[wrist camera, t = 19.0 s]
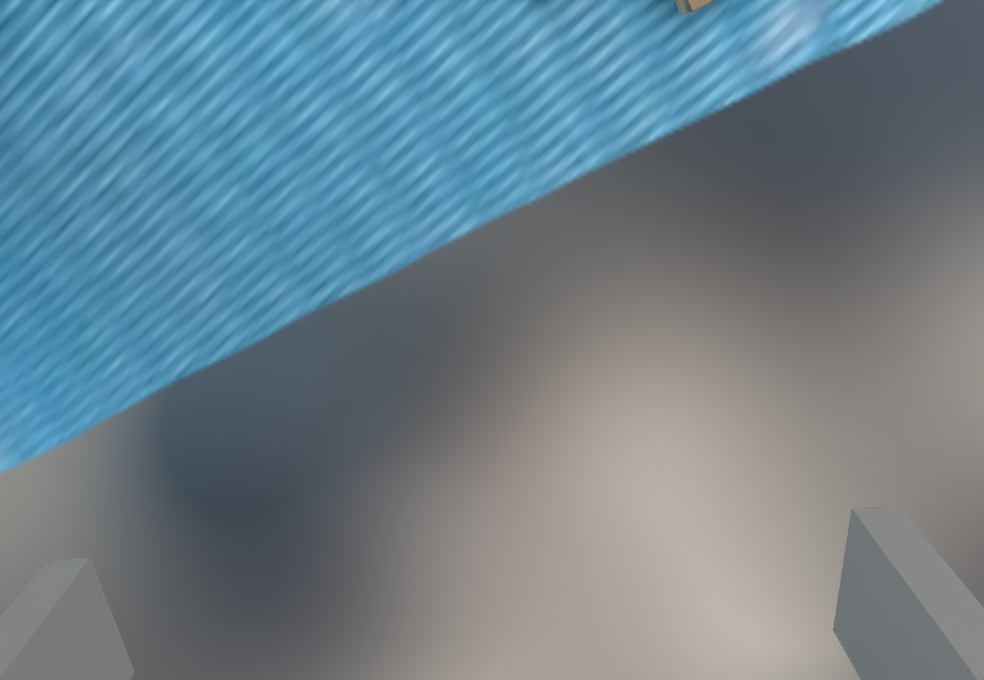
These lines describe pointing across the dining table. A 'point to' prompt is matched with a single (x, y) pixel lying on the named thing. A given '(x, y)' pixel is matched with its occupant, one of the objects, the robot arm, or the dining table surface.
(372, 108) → the dining table surface
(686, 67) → the dining table surface
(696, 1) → the pine slat
